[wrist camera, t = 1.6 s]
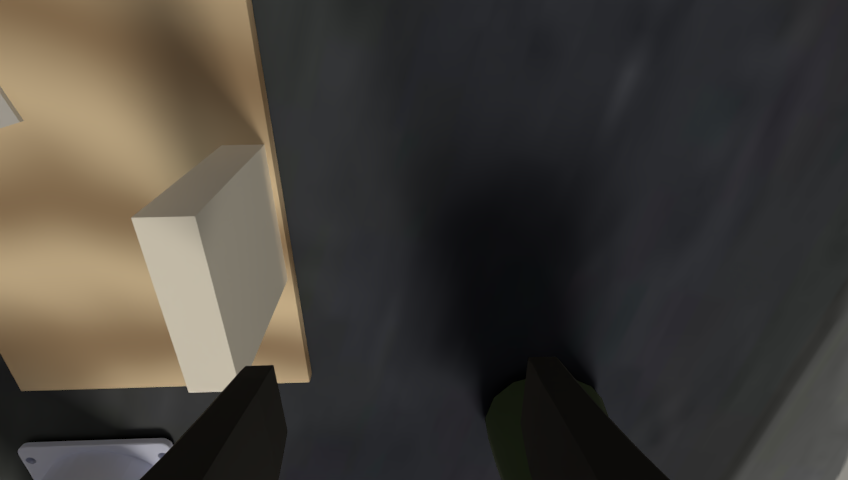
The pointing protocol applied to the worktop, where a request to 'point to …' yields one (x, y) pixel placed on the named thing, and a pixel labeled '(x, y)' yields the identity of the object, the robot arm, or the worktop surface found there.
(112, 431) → the worktop surface
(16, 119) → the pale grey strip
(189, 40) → the wooden cutting board
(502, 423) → the character mug
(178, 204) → the tile
